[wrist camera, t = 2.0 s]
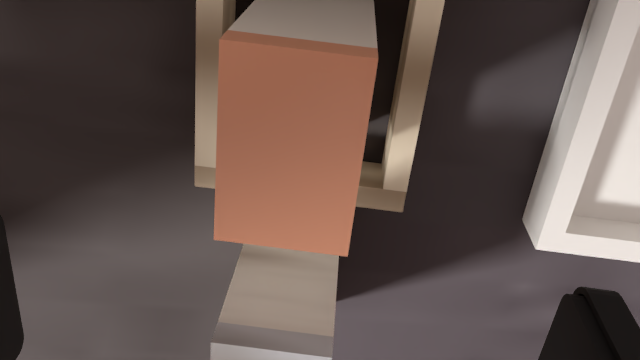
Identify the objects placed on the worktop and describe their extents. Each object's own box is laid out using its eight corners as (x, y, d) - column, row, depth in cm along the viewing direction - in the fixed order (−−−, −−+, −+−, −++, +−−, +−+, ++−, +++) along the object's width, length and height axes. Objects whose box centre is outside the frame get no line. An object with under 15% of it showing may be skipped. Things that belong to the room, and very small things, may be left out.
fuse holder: (375, 310, 31) (379, 485, 22) (205, 288, 31) (141, 454, 22) (496, -321, 19) (616, -502, 10) (218, -354, 19) (89, -560, 10)
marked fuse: (353, 128, 26) (347, 257, 17) (264, 118, 26) (213, 239, 17) (372, -10, 23) (378, 59, 15) (274, -22, 23) (219, 38, 15)
